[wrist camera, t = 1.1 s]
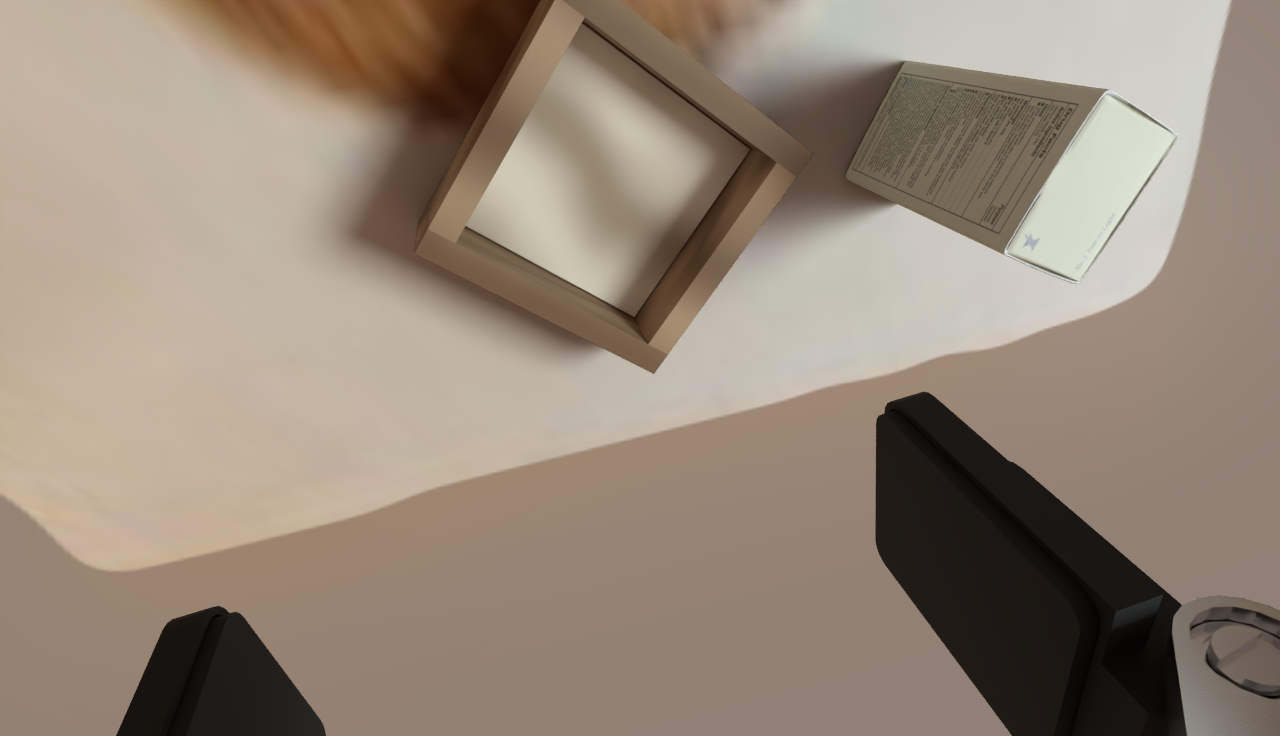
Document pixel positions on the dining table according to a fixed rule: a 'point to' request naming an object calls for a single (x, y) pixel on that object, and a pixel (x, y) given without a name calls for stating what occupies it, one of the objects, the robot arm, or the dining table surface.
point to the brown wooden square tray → (607, 181)
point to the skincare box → (1012, 161)
